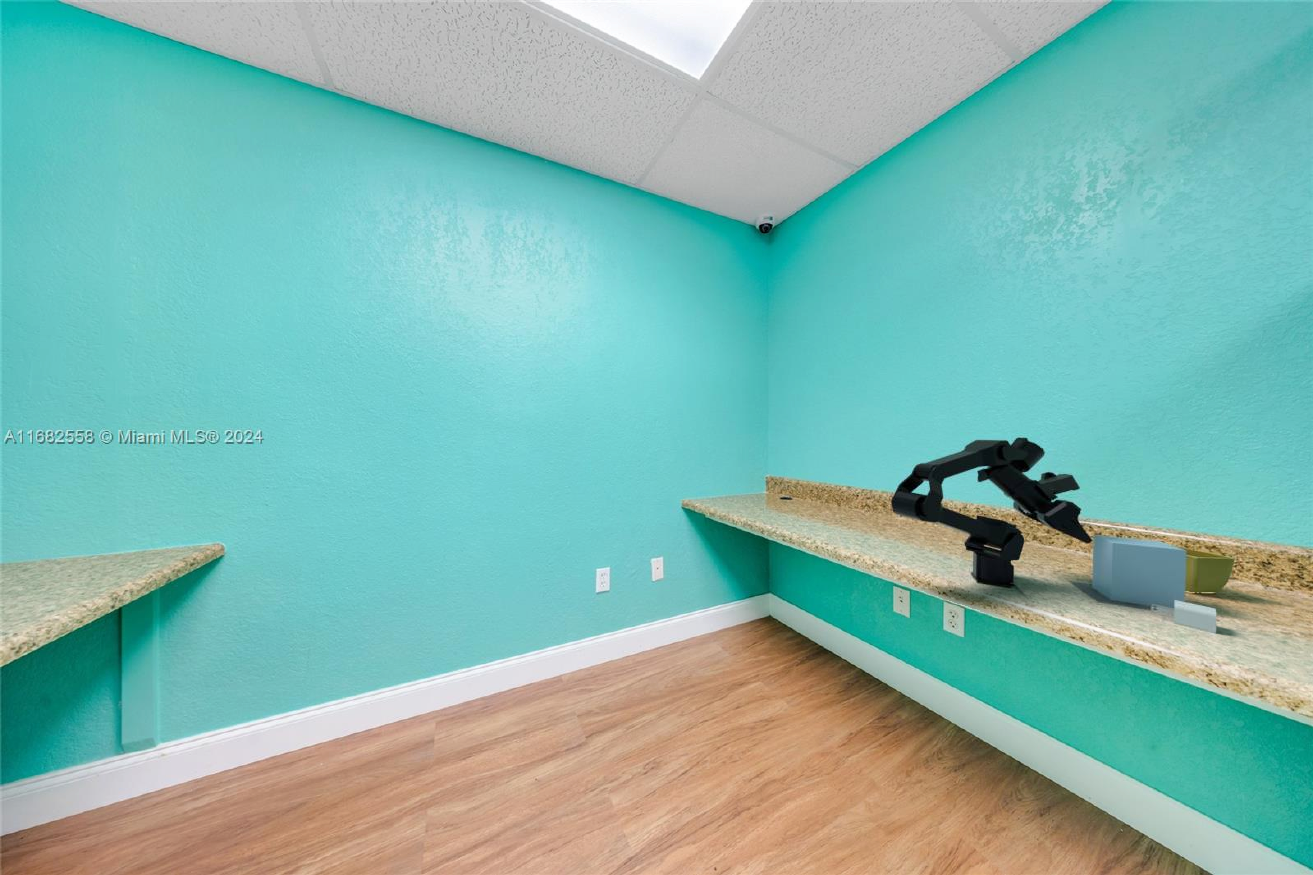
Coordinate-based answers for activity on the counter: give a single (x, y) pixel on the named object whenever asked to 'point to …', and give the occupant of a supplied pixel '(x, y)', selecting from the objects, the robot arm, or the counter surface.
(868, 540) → the counter surface
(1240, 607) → the counter surface
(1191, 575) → the flower pot
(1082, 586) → the mat
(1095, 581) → the light blue rectangular block
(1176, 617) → the usb wall charger
